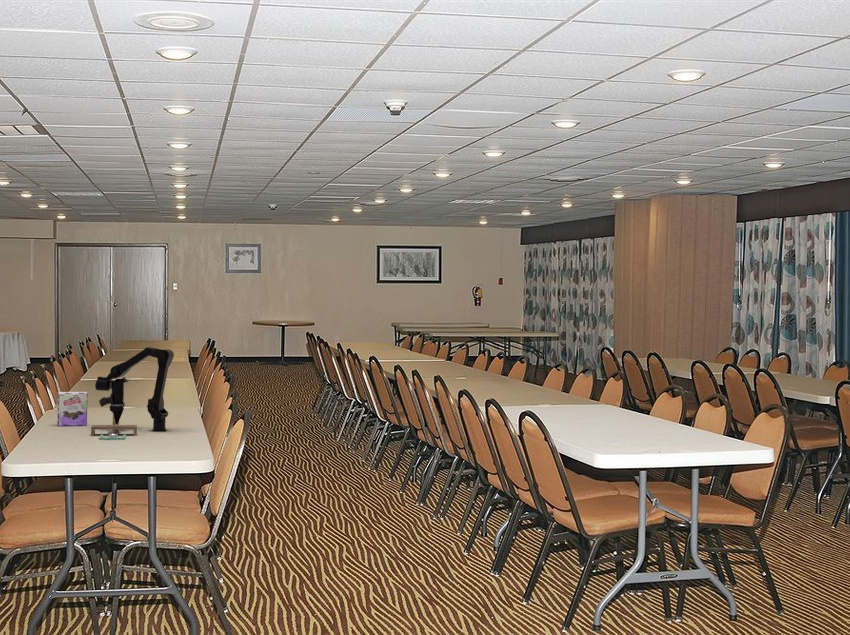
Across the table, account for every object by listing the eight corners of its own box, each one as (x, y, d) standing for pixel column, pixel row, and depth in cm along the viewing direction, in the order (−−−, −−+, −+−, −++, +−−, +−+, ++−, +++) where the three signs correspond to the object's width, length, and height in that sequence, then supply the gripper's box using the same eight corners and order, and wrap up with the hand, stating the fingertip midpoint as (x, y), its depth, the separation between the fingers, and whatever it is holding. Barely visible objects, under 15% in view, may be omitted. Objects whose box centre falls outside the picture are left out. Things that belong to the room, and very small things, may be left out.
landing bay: (100, 436, 456) (100, 434, 456) (125, 436, 459) (125, 434, 459) (98, 439, 445) (99, 438, 445) (124, 439, 448) (124, 437, 448)
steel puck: (108, 437, 453) (108, 434, 453) (108, 436, 457) (108, 433, 457) (117, 437, 455) (117, 434, 455) (117, 436, 458) (117, 433, 458)
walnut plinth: (92, 433, 463) (92, 424, 463) (136, 433, 467) (136, 424, 467) (90, 435, 457) (91, 426, 457) (136, 435, 462) (136, 426, 462)
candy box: (57, 426, 485) (58, 392, 484) (56, 424, 490) (57, 391, 490) (87, 425, 490) (87, 392, 489) (86, 424, 495) (87, 391, 495)
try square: (110, 428, 484) (111, 410, 484) (121, 428, 485) (121, 410, 485) (108, 434, 463) (108, 415, 462) (119, 434, 464) (119, 415, 464)
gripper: (101, 389, 489) (100, 421, 490) (99, 393, 471) (98, 426, 472) (125, 389, 492) (124, 421, 492) (123, 393, 474) (122, 425, 474)
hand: (116, 423), depth 483 cm, fingers closed on try square, 3 cm apart
